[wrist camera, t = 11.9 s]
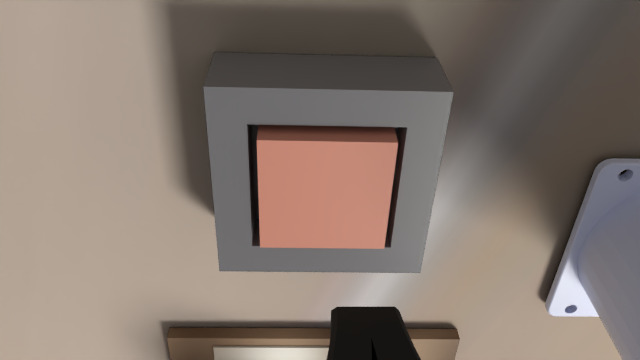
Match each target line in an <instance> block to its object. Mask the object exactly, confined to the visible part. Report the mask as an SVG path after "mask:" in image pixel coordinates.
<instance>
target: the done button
mask: <svg viewBox="0 0 640 360" xmlns="http://www.w3.org/2000/svg"><path fill="white" fill-rule="evenodd" d="M397 148H398V140H397V136H396V132H395V129H394V127H360V126H307V125H259V126H258V134H257V167H258V198H259V229H260V247H263V248H358V249H384V247H385V239H386V232H387V224H388V217H389V209H390V201H391V194H392V186H393V178H394V171H395V163H396V156H397Z"/></svg>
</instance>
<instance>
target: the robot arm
mask: <svg viewBox="0 0 640 360" xmlns="http://www.w3.org/2000/svg"><path fill="white" fill-rule="evenodd" d="M627 169H628V170H627ZM624 170H627V171H626V173H624V174H622V175H619V174H620V173H621V172H622V171H624ZM569 305H570V306H569ZM545 307H546V309H547V311H548V313H549V314H550V315H552V316H594V317H600V319H601V321H602V323H603V325H604V327H605V328H606V330H607V332H608V334H609V336H610V338H611V339H612V341H613V343H614V345H615V347H616V349H617V350H618V352H619V354H620V356H621V358H622V359H623V360H640V159H617V158H612V159H606V160H604V161H602V162H601V163H599V164H598V165H597V167H596V168H595V170H594V173H593V176H592V178H591V181H590V184H589V186H588V189H587V192H586V195H585V197H584V200H583V203H582V205H581V208H580V211H579V213H578V216H577V219H576V222H575V224H574V227H573V230H572V232H571V235H570V238H569V241H568V243H567V246H566V249H565V251H564V254H563V257H562V259H561V262H560V265H559V268H558V270H557V273H556V276H555V278H554V281H553V284H552V287H551V289H550V292H549V295H548V297H547V300H546V303H545ZM327 360H421V359H420V357H419V355H418V353H417V351H416V349H415V347H414V344H413V342H412V340H411V338H410V336H409V334H408V331H407V329H406V327H405V324H404V322H403V320H402V317H401V314H400V312H399V310H398V309H397V308H396V307H336V308H335V309H333V310H332V311H331V330H330V344H329V350H328V355H327Z"/></svg>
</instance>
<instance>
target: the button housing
mask: <svg viewBox="0 0 640 360" xmlns="http://www.w3.org/2000/svg"><path fill="white" fill-rule="evenodd" d="M203 89H204V101H205V112H206V123H207V135H208V146H209V157H210V169H211V180H212V191H213V203H214V214H215V226H216V237H217V248H218V260H219V271H258V272H371V273H420V271H421V266H422V261H423V255H424V250H425V244H426V239H427V234H428V228H429V223H430V217H431V212H432V206H433V201H434V196H435V190H436V185H437V179H438V174H439V168H440V163H441V158H442V152H443V147H444V141H445V136H446V131H447V125H448V120H449V114H450V109H451V103H452V98H453V93H454V92H453V90H452V88H451V86H450V83H449V81H448V79H447V77H446V75H445V73H444V71H443V69H442V67H441V65H440V62H439V60H438V58H433V57H391V56H349V55H307V54H264V53H222V52H214V55H213V58H212V61H211V64H210V67H209V70H208V74H207V77H206V80H205V83H204V86H203ZM259 125H307V126H360V127H394V129H395V132H396V136H397V140H398V148H397V156H396V163H395V171H394V178H393V186H392V194H391V201H390V209H389V217H388V224H387V232H386V239H385V247H384V249H358V248H263V247H260V229H259V198H258V167H257V134H258V126H259Z"/></svg>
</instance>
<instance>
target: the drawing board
mask: <svg viewBox="0 0 640 360" xmlns="http://www.w3.org/2000/svg"><path fill="white" fill-rule="evenodd" d="M330 330H331V328H169V331H168V336H167V342H168V348H169V353H170V359H171V360H327V355H328V350H329V344H330ZM407 331H408V334H409V336H410V338H411V340H412V342H413V344H414V347H415V349H416V351H417V353H418V355H419V357H420V359H421V360H454V359H455V356H456V352H457V348H458V344H459V340H460V339H459V335H458V331H457V329H407Z"/></svg>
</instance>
